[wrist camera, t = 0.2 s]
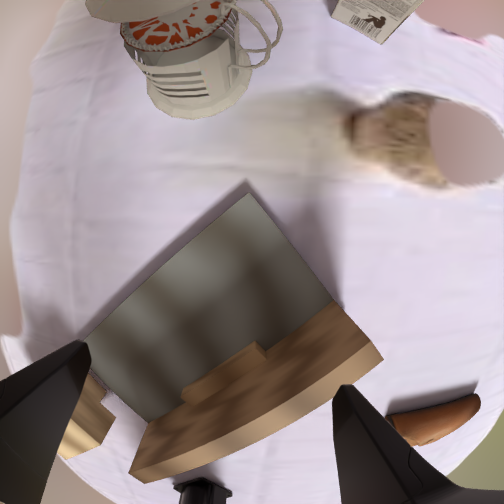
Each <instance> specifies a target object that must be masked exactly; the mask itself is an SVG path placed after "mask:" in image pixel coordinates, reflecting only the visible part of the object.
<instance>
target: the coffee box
mask: <svg viewBox="0 0 504 504" xmlns="http://www.w3.org/2000/svg"><path fill="white" fill-rule="evenodd" d="M423 1H424V0H338V2H337V5H336V7H335V9H334V11H333V13H332V15H331V17H332V18H334V19H336V20H338V21H340V22H342V23H344V24H346V25H348V26H349V27H351V28H353V29H355V30H357V31H359V32H360V33H362V34H364V35H365V36H367V37H369V38H371V39H372V40H374V41H375V42H377V43H379V44H383V43H384V42H385V41H386V40H387V39H388V38H389V36H390V35H391V34H392V33H393V32H394V31H395V30H396V29H397V28H398V27H399V26H400V25H401V24H402V23H403V22H404V21H405V20H406V19H407V18H408V17H409V16H410V15H411V14H412V13H413V12H414V11H415V10H416V8H417V7H418V6H419V5H420V4H421V3H422V2H423Z"/></svg>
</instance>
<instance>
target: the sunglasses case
mask: <svg viewBox="0 0 504 504" xmlns="http://www.w3.org/2000/svg"><path fill="white" fill-rule="evenodd" d="M480 406H481V400H480V397H479V396H478V394H476V393H475V394H471V395H468V396H466V397H463V398H461V399H458V400H455V401H453V402H450V403H446V404H442V405H438V406H434V407H431V408H425V409H421V410H416V411H412V412H405V413H400V414H393V415H390V416H386V417H385V419H386V420H387V421H388V422H389V423H390V424H391V425H392V427H393V428H394V429H395V430H396V431H397V432H398V433H399V434H400V435H401V436H402V437H403V438H404V439H405V440H406V441H407V442H408V443H409V444H410V445H411V446H415V445H418V446H423V445H426V444H429V443H432V442H435V441H437V440H439V439H440V438H442V437H444V436H446V435H448V434H450V433H451V432H453V431H455V430H456V429H458V428H459V427H461V426H462V425H464V424H465V423H466V422H467V421H468V420H470V419H471V418H472V417H473V416H474V415H475V414H476V413H477V412H478V411H479V409H480Z"/></svg>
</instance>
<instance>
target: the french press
mask: <svg viewBox="0 0 504 504" xmlns="http://www.w3.org/2000/svg"><path fill="white" fill-rule="evenodd" d="M236 1H237V0H86V3H85V5H86V7H87V9H88V11H89V12H90V14H91V16H92V17H95V18H99V19H102V20H105V21H108V22H112V23H121V27H120V34H121V36H122V37H123V39H124V47H125V48H126V50H127V52H128V53H129V55H130V56H131V58H132V59H133V60H134V62H135V63H136V64H137V66H138V67H139V68H140V70H142V72H143V71H144V72H143V73H144V74H145V76H147V77H146V78H147V94H148V95H149V97H150V98H151V100H152V102H153V103H154V105H155V106H156V108H158V109H159V110H161V111H163V112H165V113H166V114H168V115H170V116H171V117H176V118H184V119H191V120H194V119H199V118H204V117H209V116H214V115H216V114H218V113H220V112H221V111H223V110H225V109H227V108H228V107H230V106H232V105H234V104H235V103H236V101H237V100H238V99H239V98H240V97H241V96H242V94H243V93H244V92H245V91H246V90H247V88H248V85H249V81H250V78H251V74H252V69H256V68H258V67H260V66H262V65H264V64H265V63H266V62H267V61H268V59H269V58H270V52H271V49H272V48H273V47H275V46H276V45H277V43H278V42H279V39H280V36H281V34H282V31H283V27H282V22H281V19H280V17H279V15H278V14H277V12H276V10H275V8H274V7H273V6H272V5H271V4H270V3H269V2H268V1H267V0H261V1H262V2H263V3H264V4H265V5H266V6H267V7H268V8H269V9H270V10H271V12H272V14H273V16H274V18H275V20H276V22H277V24H278V31H277V37H276V40H275V41H274V42H273V43H272V44H271V42H270V40H269V38H268V36H267V35H266V33H265V32H264V30H263V29H262V27H261V25H260V24H259V23H258V22H257V21H256V20H255V19H254V18H253V17H252V16H251V15H250V14H249V13H248V12H246V11H244V10H243V9H241V8H239V7H237V6H236V5H235V3H236ZM231 10H232V12H233V14H234V15H235V17H236V21H235V19H234V17H233V15H232V14H231ZM237 12H239V13H241V14H243V15H244V16H246V17H247V18H248V19H249V20H250V21H251V22H252V23H253V24H254V25H255V26H256V27H257V28H258V30H259V31H260V33H261V34H262V36H263V37H264V39H265V41H266V44H267V48H265V49H258V50H252V49H243V48H242V47H241V45H240V43H239V19H238V13H237ZM228 17H230V18H231V19H232V20H233V22H234V24H235V27H234V26H233V24H232V23H231V22H230V21H229V20H228ZM225 22H227V23H228V24H229V25H230V26H231V27H232V28H233V30H234V33H233V31H232V30H231V29H229V28H228V27H227V26H226V25H225V24H224V23H225ZM220 26H222V27H224V28H225V29H226V30H227V31H228V32H229V33H230V34H231V35H232V36H233V37H234V39H235V41H234V39H233V38H232V37H231V36H230V35H229V34H228V33H226V32H225V31H224V30H221V29H218V28H219V27H220ZM135 50H136V52H137V55H138V61H137V60H135ZM265 51H266V54H265V58H264V60H262V61H261V62H260V63H258V64H257V65H251V63H250V58H249V55H248V54H247V53H246V52H252V53H259V52H265ZM140 57H141V58H142V60H143V64H142V63H141V60H140ZM145 64H146V65H147V66H146V65H145ZM146 72H148V74H146Z"/></svg>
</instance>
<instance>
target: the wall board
mask: <svg viewBox="0 0 504 504" xmlns="http://www.w3.org/2000/svg"><path fill="white" fill-rule="evenodd" d="M83 341H84V342H86V343H87V344H88V347H89V351H90V354H91V358H92V362H91V366H90V368H91V369H92V370H93V372H94V373H95V374H96V375H97V376H98V377H99V378H100V379H101V380H102V381H103V382H104V383H105V384H106V385H107V386H108V387H109V388H110V389H111V390H112V391H113V392H114V393H115V394H116V395H117V396H118V397H119V398H120V399H122V400H123V401H124V402H125V403H126V404H127V405H128V406H129V407H130V408H131V409H133V410H134V411H135V412H136V413H137V414H138V415H139V416H141V417H142V418H143V419H144V420H145V421H147V422H148V425H147V428H146V430H145V433H144V435H143V438H142V440H141V442H140V445H139V447H138V450H137V452H136V455H135V457H134V460H133V462H132V465H131V467H130V470H129V472H128V473H129V474H130V475H132V476H133V477H135V478H136V479H138V480H139V481H141V482H142V483H144V484H146V483H150V482H154V481H157V480H161V479H164V478H167V477H171V476H174V475H177V474H180V473H183V472H186V471H189V470H192V469H194V468H197V467H200V466H203V465H205V464H208V463H210V462H213V461H215V460H218V459H220V458H223V457H225V456H227V455H230V454H232V453H234V452H236V451H239V450H241V449H243V448H245V447H247V446H249V445H251V444H254V443H256V442H258V441H260V440H262V439H264V438H266V437H267V436H269V435H271V434H273V433H275V432H277V431H279V430H281V429H282V428H284V427H286V426H288V425H290V424H291V423H293V422H295V421H297V420H298V419H300V418H302V417H303V416H305V415H307V414H308V413H310V412H312V411H313V410H315V409H316V408H318V407H319V406H321V405H323V404H324V403H326V402H327V401H329V400H330V399H332V398H333V397H334V396H335V394H336V392H337V391H338V389H339V387H340V386H341V385H342V384H353V383H354V382H356V381H357V380H359V379H360V378H361V377H363V376H364V375H365V374H366V373H368V372H369V371H370V370H372V369H373V368H374V367H375V366H377V365H378V364H379V363H380V362H382V361H383V360H384V359H383V357H382V356H381V354H380V353H379V352H378V350H377V349H376V347H375V346H374V344H373V343H372V341H371V340H370V339H369V338H368V337H367V336H366V335H365V333H364V332H363V331H362V330H361V329H360V328H359V327H358V326H357V325H356V324H355V322H354V321H353V320H352V319H351V318H350V317H349V316H348V315H347V314H346V313H345V311H344V310H343V309H342V308H341V307H340V306H339V305H338V304H337V303H336V302H335V301H334V299H333V298H332V297H331V295H330V294H329V293H328V291H327V290H326V289H325V287H324V286H323V285H322V284H321V282H320V281H319V280H318V278H317V277H316V276H315V274H314V273H313V272H312V270H311V269H310V268H309V267H308V265H307V264H306V263H305V261H304V260H303V259H302V257H301V256H300V255H299V254H298V252H297V251H296V250H295V248H294V247H293V246H292V245H291V243H290V242H289V241H288V240H287V238H286V237H285V236H284V235H283V233H282V232H281V231H280V230H279V228H278V227H277V226H276V224H275V223H274V222H273V221H272V220H271V218H270V217H269V216H268V215H267V213H266V212H265V211H264V210H263V208H262V207H261V206H260V205H259V203H258V202H257V201H256V200H255V199H254V197H253V196H252V195H251V194H250V192H249V193H248V194H246V195H245V196H244V197H243V198H241V199H240V200H239V201H238V202H236V203H235V204H234V205H233V206H232V207H230V208H229V209H228V210H227V211H226V212H224V213H223V214H222V215H221V216H219V217H218V218H217V219H216V220H215V221H214V222H212V223H211V224H210V225H209V226H208V227H206V228H205V229H204V230H203V231H202V232H200V233H199V234H198V235H197V236H196V237H195V238H193V239H192V240H191V241H190V242H189V243H188V244H187V245H185V246H184V247H183V248H182V249H181V250H180V251H178V252H177V253H176V254H175V255H174V256H173V257H172V258H171V259H169V260H168V261H167V262H166V263H165V264H164V265H163V266H162V267H160V268H159V269H158V270H157V271H156V272H155V273H154V274H153V275H152V276H150V277H149V278H148V279H147V280H146V281H145V282H144V283H143V284H142V285H141V286H139V287H138V288H137V289H136V290H135V291H134V292H133V293H132V294H131V295H130V296H129V297H128V298H127V299H126V300H124V301H123V302H122V303H121V304H120V305H119V306H118V307H117V308H116V309H115V310H114V311H113V312H112V313H111V314H110V315H109V316H108V317H107V318H106V319H105V320H104V321H102V322H101V323H100V324H99V325H98V326H97V327H96V328H95V329H94V330H93V331H92V332H91V333H90V334H89V335H88V336H87V337H86V338H85V339H84V340H83Z"/></svg>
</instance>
